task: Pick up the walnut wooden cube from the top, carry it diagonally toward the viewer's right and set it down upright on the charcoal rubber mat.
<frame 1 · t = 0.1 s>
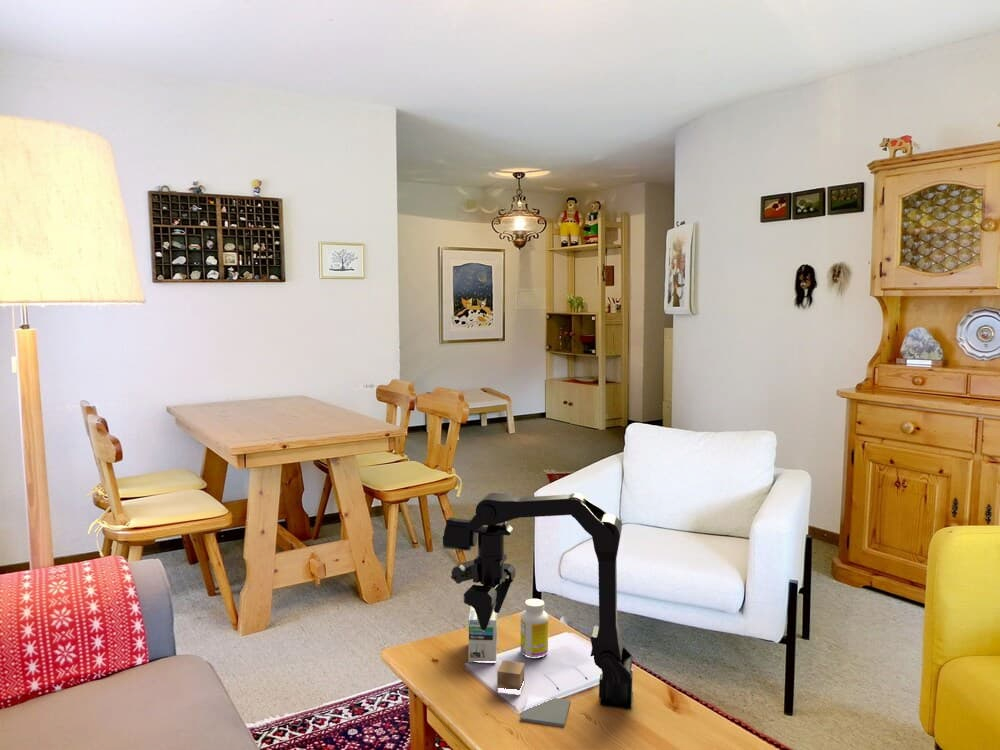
hand: (490, 620, 158), 14 cm above the table, tool pointing down, fingers open, 9 cm apart
light bulb box: (483, 654, 173), on the table
supplement bottle: (534, 654, 173), on the table
walnut cube: (510, 688, 157), on the table
rubber mat: (545, 711, 148), on the table
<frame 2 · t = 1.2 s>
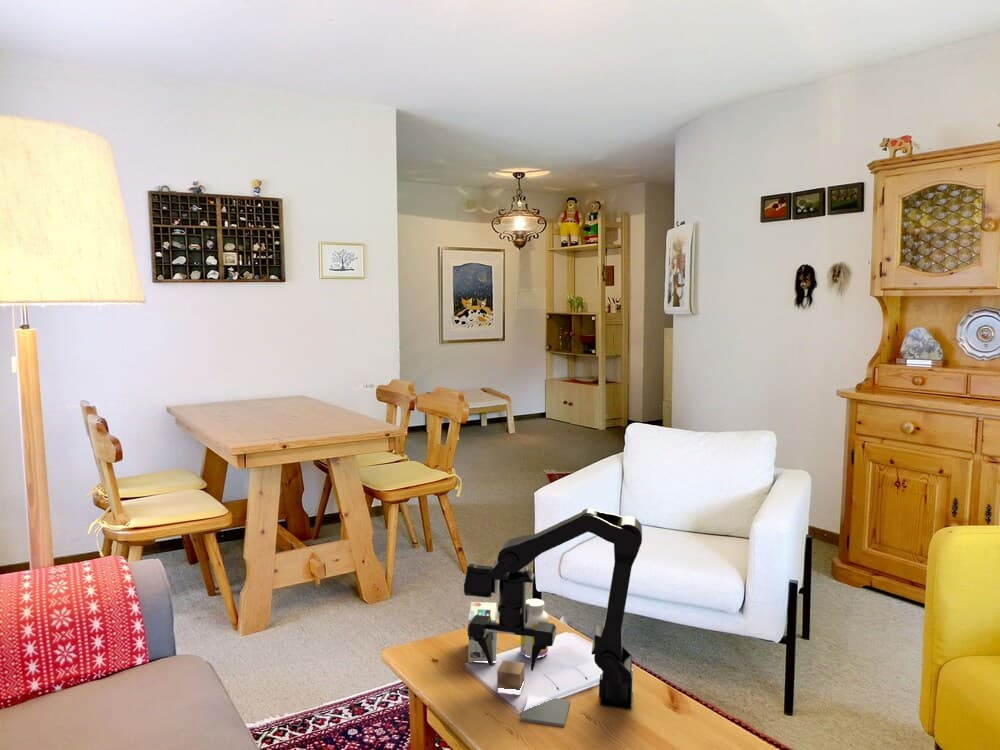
hand: (511, 667, 157), 5 cm above the table, tool pointing down, fingers open, 9 cm apart
nothing on the table moved.
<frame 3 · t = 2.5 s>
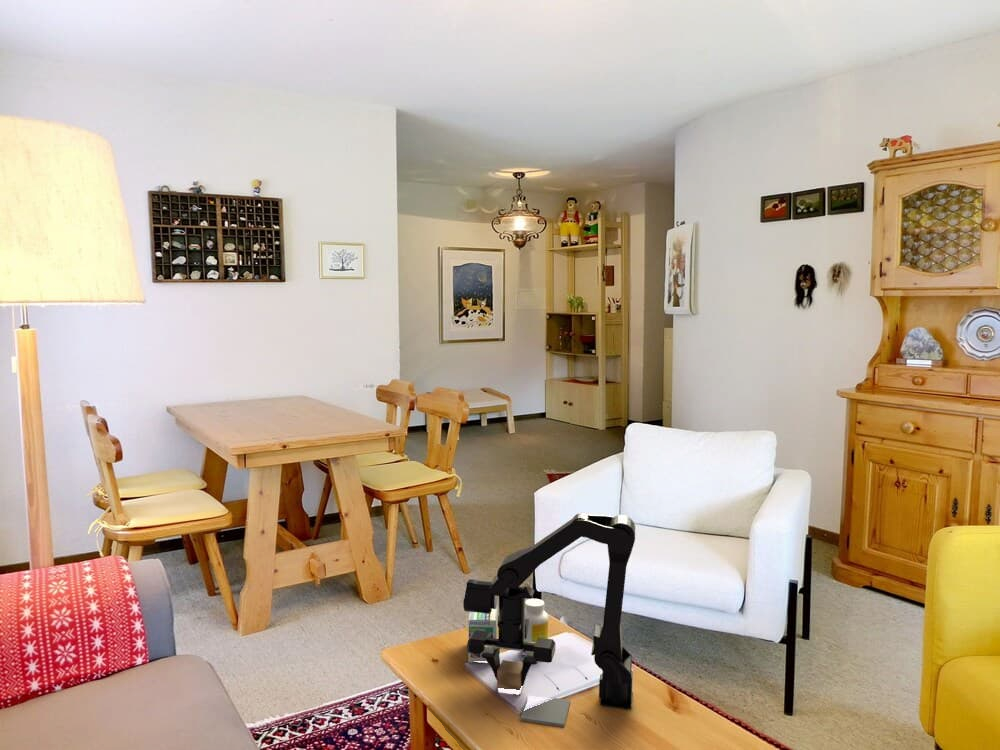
hand: (510, 683, 157), 1 cm above the table, tool pointing down, fingers closed on walnut cube, 5 cm apart
walnut cube: (510, 688, 157), on the table, touching gripper
everything else where it was.
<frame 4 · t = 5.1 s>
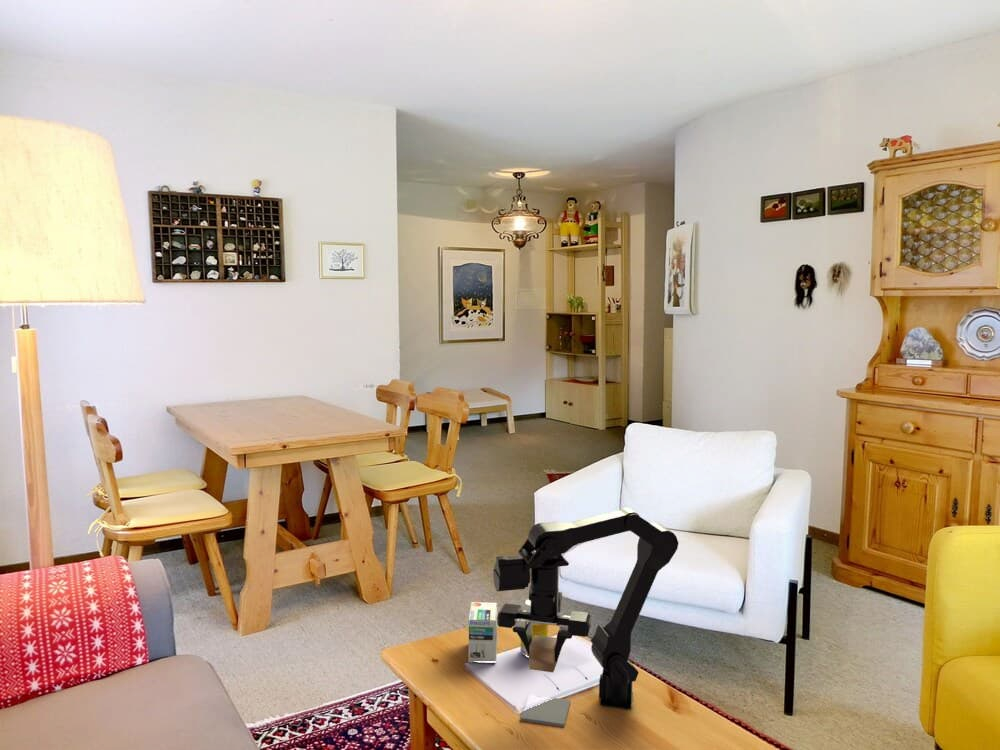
hand: (543, 659, 148), 11 cm above the table, tool pointing down, fingers closed on walnut cube, 5 cm apart
walnut cube: (543, 665, 148), point 10 cm above the table, touching gripper
everything else where it was.
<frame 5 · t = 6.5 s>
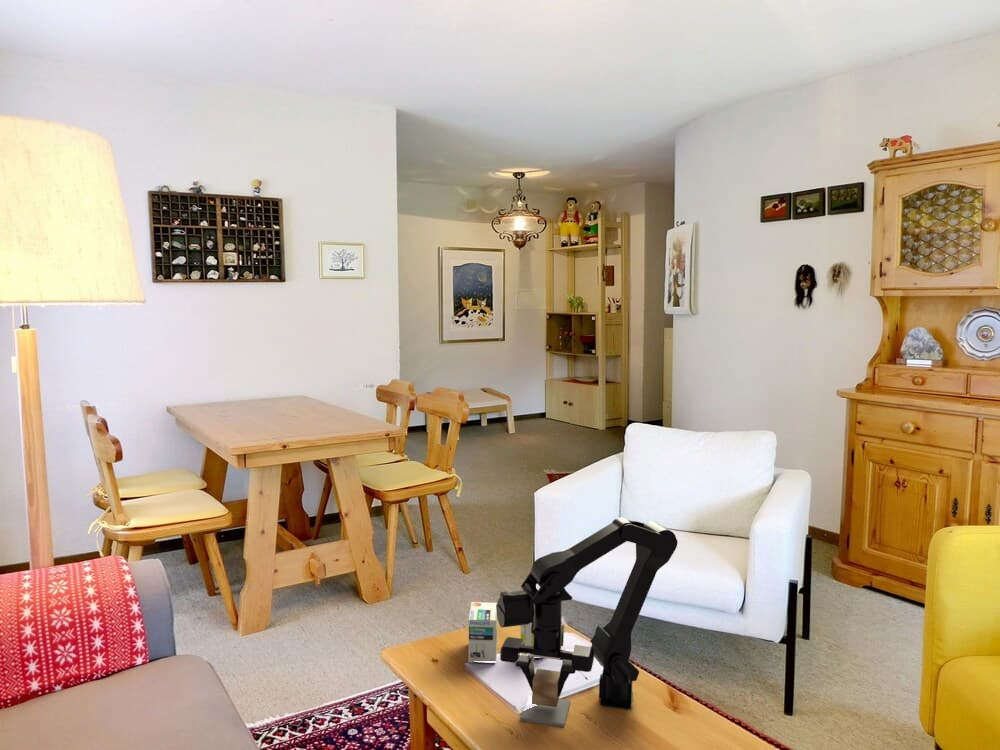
hand: (546, 693, 148), 4 cm above the table, tool pointing down, fingers closed on walnut cube, 5 cm apart
walnut cube: (546, 699, 148), point 3 cm above the table, touching gripper
everything else where it was.
when the fingers open (3 cm above the table, at t = 7.5 s): walnut cube drops 1 cm, resting on rubber mat.
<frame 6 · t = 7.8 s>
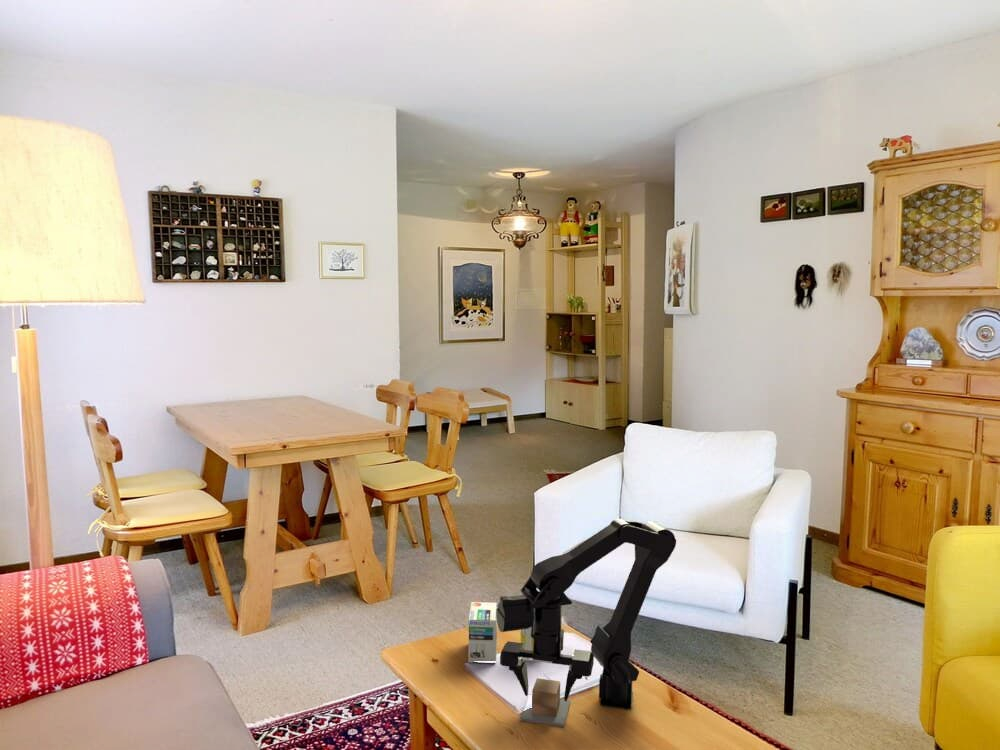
hand: (546, 697, 148), 3 cm above the table, tool pointing down, fingers open, 8 cm apart
walnut cube: (546, 708, 148), point 1 cm above the table, touching rubber mat
everything else where it was.
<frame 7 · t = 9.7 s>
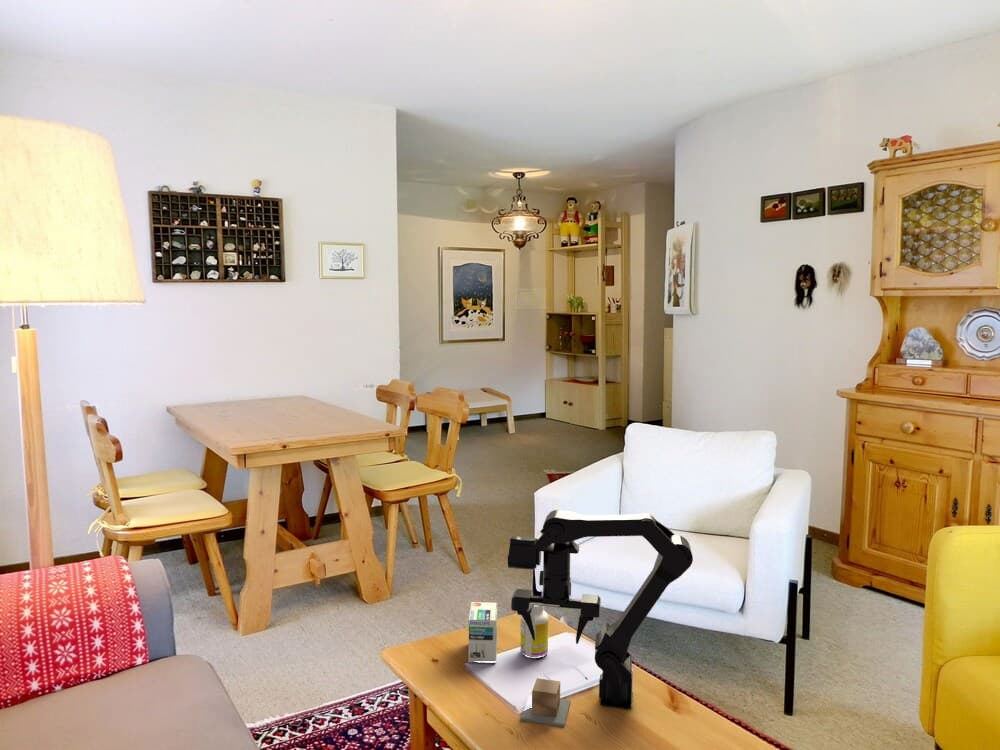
hand: (555, 641, 154), 12 cm above the table, tool pointing down, fingers open, 9 cm apart
nothing on the table moved.
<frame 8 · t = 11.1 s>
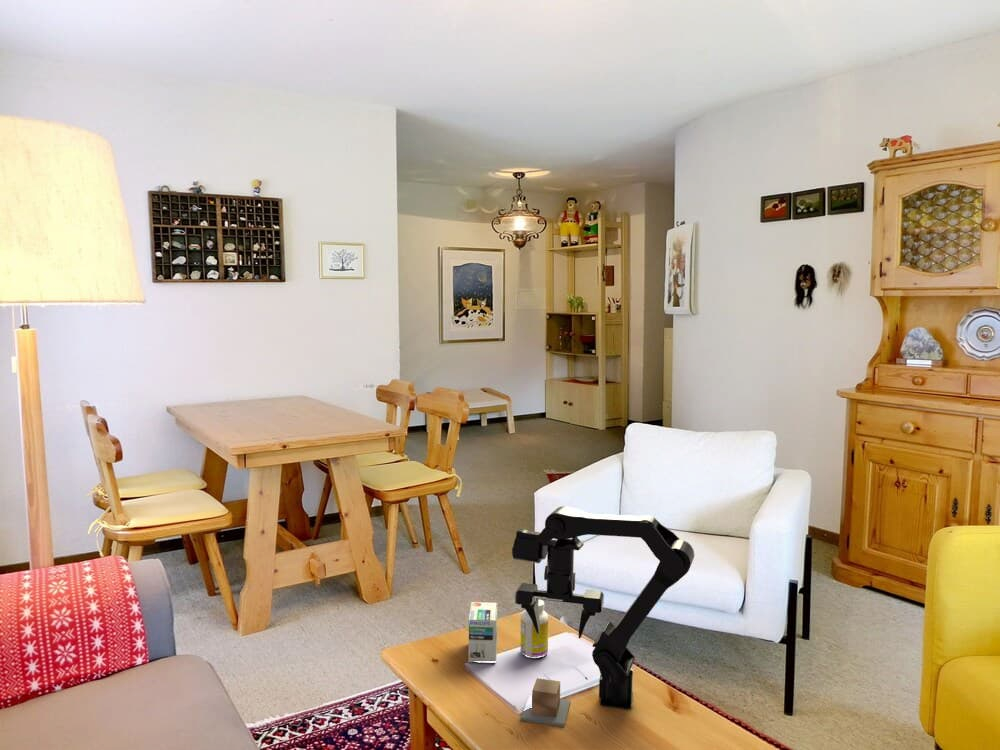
hand: (558, 635, 157), 12 cm above the table, tool pointing down, fingers open, 9 cm apart
nothing on the table moved.
at the end: walnut cube 0.0 cm off-centre on the rubber mat, point 0.6 cm above the rubber mat's base; walnut cube tilted 0°; the gripper is holding nothing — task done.
